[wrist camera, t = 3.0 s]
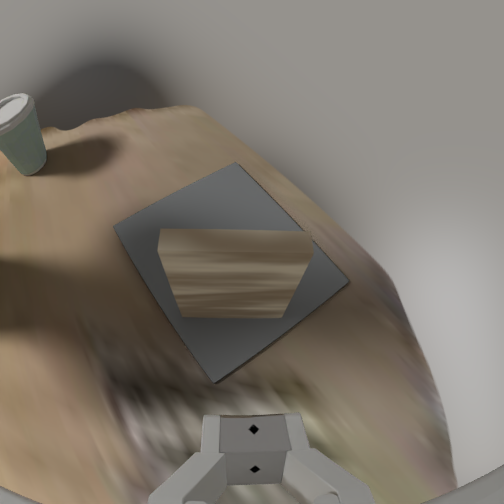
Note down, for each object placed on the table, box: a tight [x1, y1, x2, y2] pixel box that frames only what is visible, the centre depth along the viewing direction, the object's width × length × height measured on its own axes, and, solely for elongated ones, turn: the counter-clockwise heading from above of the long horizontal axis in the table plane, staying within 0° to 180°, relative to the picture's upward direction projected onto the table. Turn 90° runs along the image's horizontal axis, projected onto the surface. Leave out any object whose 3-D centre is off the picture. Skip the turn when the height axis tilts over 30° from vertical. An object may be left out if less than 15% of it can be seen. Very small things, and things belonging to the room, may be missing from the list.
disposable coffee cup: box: [0, 93, 46, 176], centre depth 43 cm, size 11×11×15 cm
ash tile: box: [157, 229, 314, 318], centre depth 32 cm, size 2×12×16 cm, turn 91°
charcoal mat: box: [113, 162, 349, 384], centre depth 43 cm, size 22×26×1 cm
